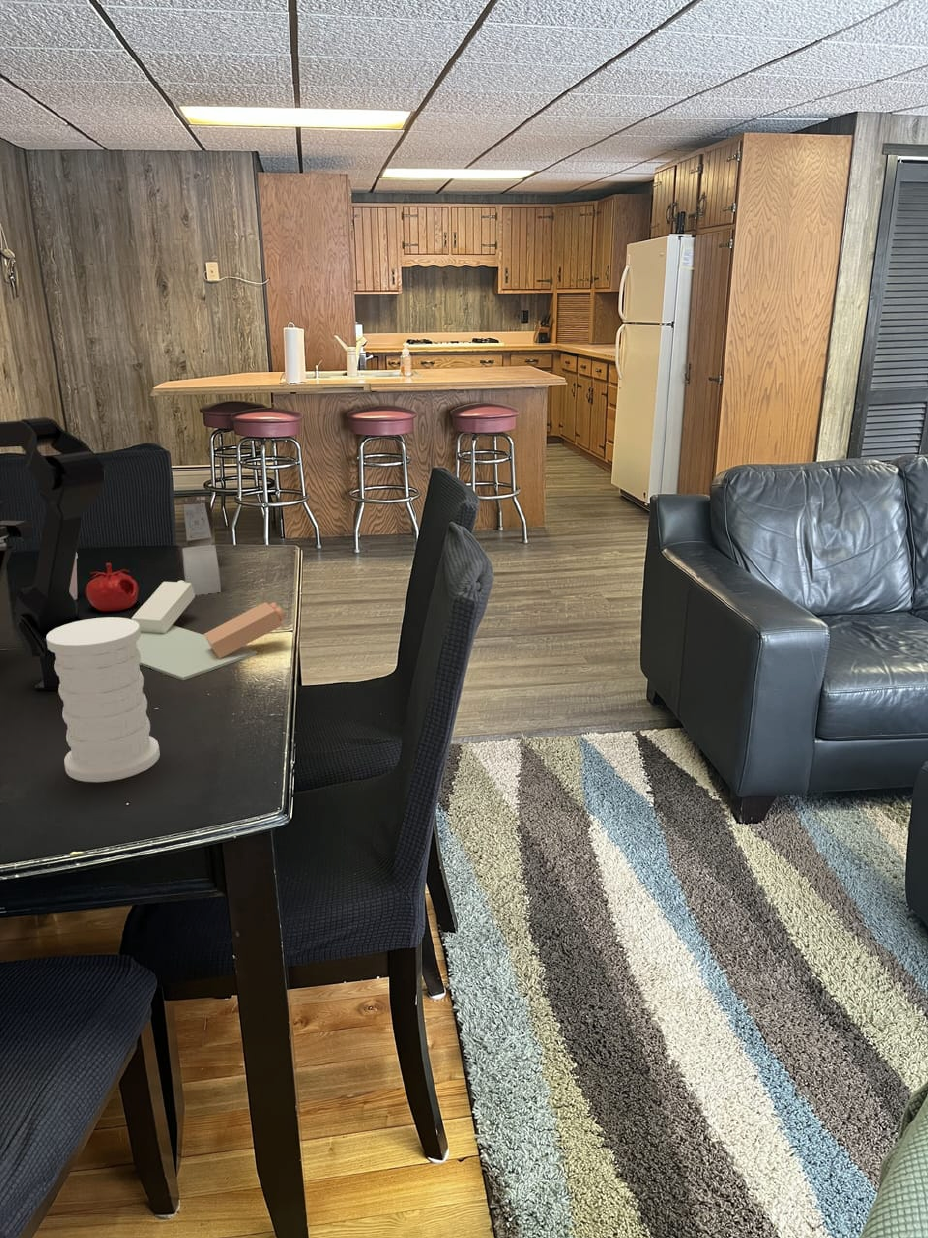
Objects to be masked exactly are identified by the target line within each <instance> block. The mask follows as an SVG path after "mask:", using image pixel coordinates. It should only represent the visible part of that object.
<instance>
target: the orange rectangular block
mask: <svg viewBox="0 0 928 1238" xmlns="http://www.w3.org/2000/svg"><path fill="white" fill-rule="evenodd" d="M286 619H287V617H286V614H285V612H284V610H283V608H282V607H281V606H278V604H277V603H276V602H275V601H273V602H271V603H270V604H268V603H267V602H266V601H265V602H263V603H260V604H259V605H257V606H254V607H253V608H251V609H249V610H247V611H244V613H242V614H239V615H238V616H236V617H234V618H232V619H230V620H228V621H226V622H224V623H223V624H220V625H218V626H217V627H215V628H212V629H211V630H208V631H207V632H204V633H203V635H204V636H205V638H206V640H207V641H208V643H209V645H210V647H211V649H212V650H213V651H214V653H215V654H216V655H217V656H218V657H219V659H220V658H222V657H224V656H226V655H228V654H230V653H231V652H233V651H235V650H237V649H239V648H241V647H245V646H246V645H248V644H250V643H252V642H254V641H256V640H258V639H259V638H261V637H263V636H266V635H268V634H269V633H271V632H273V631H275V630H276V629H278V628H280V627H282V626H283V622H282V621H284V620H286Z"/></svg>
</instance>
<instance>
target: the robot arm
mask: <svg viewBox="0 0 928 1238" xmlns="http://www.w3.org/2000/svg"><path fill="white" fill-rule="evenodd" d="M45 446H50V447H51V448H52V449H53V450H55V451H57V452H59V453H60V454H53V455H47V456H46V457H44V455H43V454H42V453H41V452H40V450H39V449H38V447H45ZM4 447H5V448H8V447H9V448H12V447H21V448H22V449H23V450H24V452H25V463H26V468H27V470H28V472H29V473H30V474H31V475H32V476H33V477H34V478H35V480H36V481H37V490H38V492H39V494H40V496H41V498H42V499H43V502H44V503H45V505H46V510H45V517H44V522H43V528H42V536H41V541H40V548H39V553H38V558H37V559H38V560H37V564H36V566H37V567H36V571H35V578H34V583H33V585H32V586H27V587H24V588H22V589H19V590H18V591H17V593H16V604H15V607H14V608H13V612H15V619H14V626H15V628H16V631H17V634H18V637H19V639H20V641H21V644H22V647H23V648H24V651H25V653H26V654H29V656H30V657H32V658H33V657H38V660H39V664H40V672H41V676H42V677H41V678H42V681H40V682H39V683H37V684H36V685H34V690H37V691H39V690H41V691H58V689H59V684H60V680H59V676H58V675H57V674H56V671H55V669H54V664H55V660H56V656H55V653H54V652H51V651H50V650H49V649H48V646H47V640H45V639H46V635H47V634H48V633H49V632H50V631H52V630H53V629H55V628H57V627H60V626H62V625H65V624H69V623H72V622H76V621H81V620H84V619H83V617H82V616H81V613H80V612H78V611H77V610H78V603H77V601H76V600H74V598H73V596H72V595H71V593H70V591H69V590H70V583H71V578H72V573H73V568H74V562H75V557H76V552H77V551H78V545H79V541H80V535H81V531H82V525H83V524H82V523H83V519H84V515H85V513H86V512H87V511H88V510H89V508H90V507H92V505H93V504H94V503H95V502H96V501H97V499H98V498H99V496H100V493H101V491H102V488H103V486H104V482H105V479H106V477H105V476H106V475H105V474H106V473H105V472H106V471H105V468H104V464H103V463H102V461H101V460H100V458H99V457H98V456H97V455H96V454H95V453H94V451H92V449H91V448H90V447H89V446H88V445H87V443H86V442H84V441H82V440H81V439H79V438H77V437H76V436H74V435H73V434H70V433H69V432H68V431H66V430H64V429H63V428H62V427H61V426H60V425H59V423H57V421H56V420H55V419H53V418H50V417H47V416H41V417H32V418H31V417H30V418H23V419H19V420H5V421H0V448H4ZM3 505H4V504H3V501H0V510H1V509H4V506H3ZM10 538H19V539H20V541H27V540H30V539H32V538H35V536H34V530H33V526H32V525H31V524H30V523H29V522H28V521H26V520H0V582H1V580H2V578H3V574H4V571H5V568H6V566H7V563H8V561H9V558H10V556H11V554H12V552H13V551H14V550H15V546H7V543H6V542H5V541H4V540H7V539H10Z"/></svg>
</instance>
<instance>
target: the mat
mask: <svg viewBox="0 0 928 1238" xmlns="http://www.w3.org/2000/svg"><path fill="white" fill-rule="evenodd" d="M136 644H137V648H138V649H139V652H140V655H141V660H140V661H141V662H140V664H139V666H142V665H143V666H142V667H146V668H148V669H150V668H151V670H154V671H155V672H159V673H160V674H161V673H162V674H164V675H167V676H170V677H173V678H174V679H178V680H181V681H185V680H186V681H187V680H188V679H192V678H194V677H197V676H200V675H203V674H206V673H209V672H211V671H214V670H217V669H220V668H223V667H224V666H228V665H231V664H233V663H235V662H236V663H237V662H239V661H242V660H245V659H247V658H250V657H253V656H256V655H258V651H256V650H253V649H250V648H248V647H247V648H246V647H245V646H243V647H241V648H239V649H237V650H235V651H233V652H231V653H230V654H228V655H226V656H224V657H222V658H220V659H219V657H218V656H217V655H216V654H215V653H214V651H213V650H212V649H211V647H210V645H209V643H208V641H207V640H206V638H205V636H204V634H202V633H199V632H195V631H192V630H189V629H187V628H182V627H179V626H176V625H174V624H172V626H171V627H170V628H169V629H168V631H167V632H166V633H152V632H141V637H140V638H139V640H137V641H136Z"/></svg>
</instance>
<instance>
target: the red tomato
mask: <svg viewBox="0 0 928 1238" xmlns="http://www.w3.org/2000/svg"><path fill="white" fill-rule="evenodd" d="M105 566H106V568H107V569H106V572H104V571H103V572H99V571H94V572H90V574H95V573H96V574H95V575H94V576H92V577H91V579H92V580H90V581H89V582H88V583H87V585H86V588H85V596H86V597H87V598H86V599H87V600H88V601H89V603H90V604H91V606H92V607H94V608H95V609H97V610H98V611H99V612H100V611H101V612H105V613H106V612H119V611H124V610H127V609H130V608H132V607H133V606H134V605H136V603H137V600H138V595H139V586H138V583H137V581H136V580H135V579H133V578H132V576H131V575H129V574H126V573H125V572H127V573H129V572H130V570H127V569H126V568H125V569H124V568H122V569H121V570H118V571H114V572H113V571H112V563H111V562H106V563H105ZM124 571H125V572H124ZM123 572H124V573H123ZM98 575H100V576H98ZM97 576H98V577H97Z"/></svg>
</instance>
